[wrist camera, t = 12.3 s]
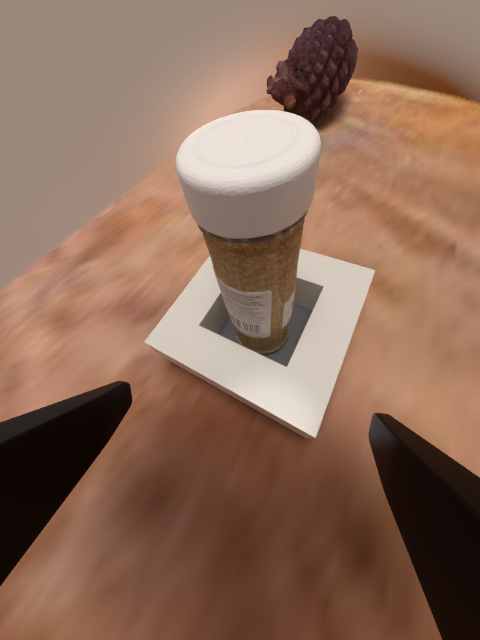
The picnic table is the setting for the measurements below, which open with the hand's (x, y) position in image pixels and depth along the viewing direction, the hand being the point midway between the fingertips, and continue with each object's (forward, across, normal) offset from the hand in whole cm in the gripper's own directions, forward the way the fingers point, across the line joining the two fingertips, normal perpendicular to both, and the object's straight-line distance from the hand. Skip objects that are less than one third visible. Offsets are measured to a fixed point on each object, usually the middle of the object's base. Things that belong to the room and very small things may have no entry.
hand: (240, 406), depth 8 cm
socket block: (+12, 0, +1) cm, 12 cm away
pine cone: (+40, -5, -27) cm, 48 cm away
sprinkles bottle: (+11, 0, +1) cm, 11 cm away
